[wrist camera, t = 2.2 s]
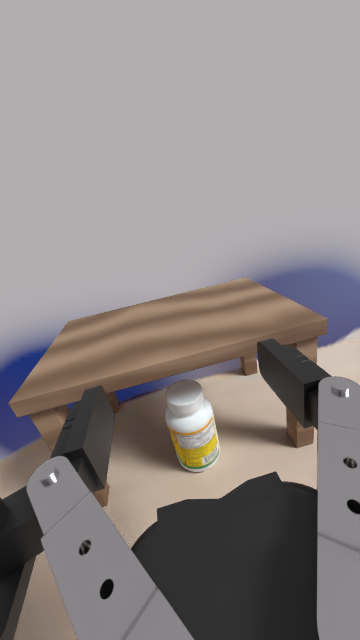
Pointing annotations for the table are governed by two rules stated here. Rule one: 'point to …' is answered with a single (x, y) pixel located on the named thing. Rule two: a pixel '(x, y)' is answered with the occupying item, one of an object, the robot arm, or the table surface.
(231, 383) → the table surface
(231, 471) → the table surface
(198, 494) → the table surface
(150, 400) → the table surface
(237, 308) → the walnut shelf
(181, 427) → the supplement bottle
